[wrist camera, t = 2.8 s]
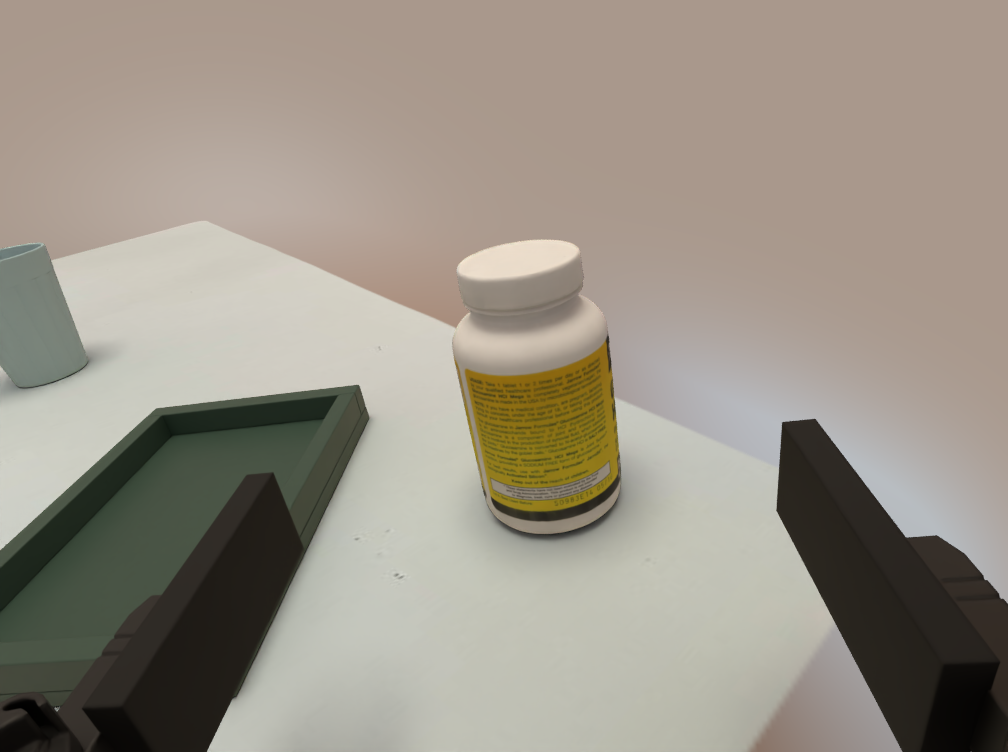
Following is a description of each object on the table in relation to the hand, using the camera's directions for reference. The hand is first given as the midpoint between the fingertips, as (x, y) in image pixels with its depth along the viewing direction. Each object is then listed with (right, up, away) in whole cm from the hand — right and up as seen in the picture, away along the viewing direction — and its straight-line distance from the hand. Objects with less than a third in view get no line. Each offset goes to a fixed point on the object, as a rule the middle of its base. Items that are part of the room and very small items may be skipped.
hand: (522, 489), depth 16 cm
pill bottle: (+2, -2, +12) cm, 12 cm away
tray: (-15, -4, +13) cm, 21 cm away
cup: (-40, +3, +37) cm, 54 cm away
